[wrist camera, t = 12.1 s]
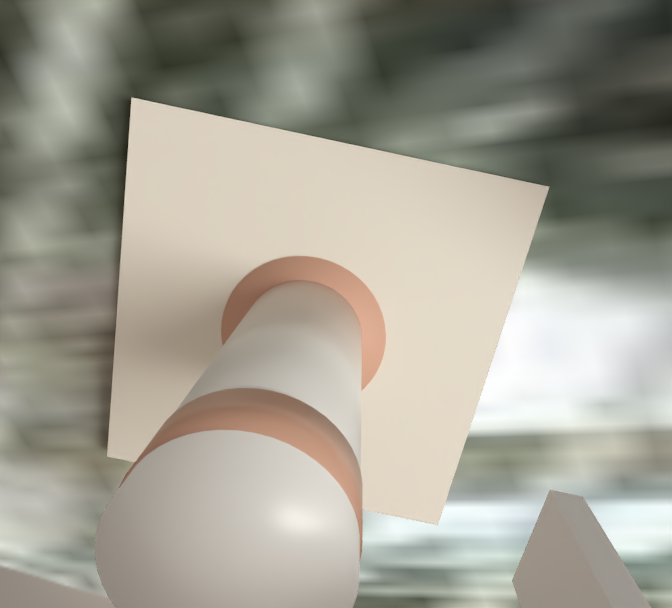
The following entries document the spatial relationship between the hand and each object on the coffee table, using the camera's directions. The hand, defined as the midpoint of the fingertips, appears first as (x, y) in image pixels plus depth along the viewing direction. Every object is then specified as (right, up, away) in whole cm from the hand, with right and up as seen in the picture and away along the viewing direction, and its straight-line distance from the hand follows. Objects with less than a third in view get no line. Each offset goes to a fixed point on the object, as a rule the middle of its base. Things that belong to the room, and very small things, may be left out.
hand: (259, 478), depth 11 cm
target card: (0, +3, +10) cm, 10 cm away
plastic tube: (0, +3, +9) cm, 10 cm away
